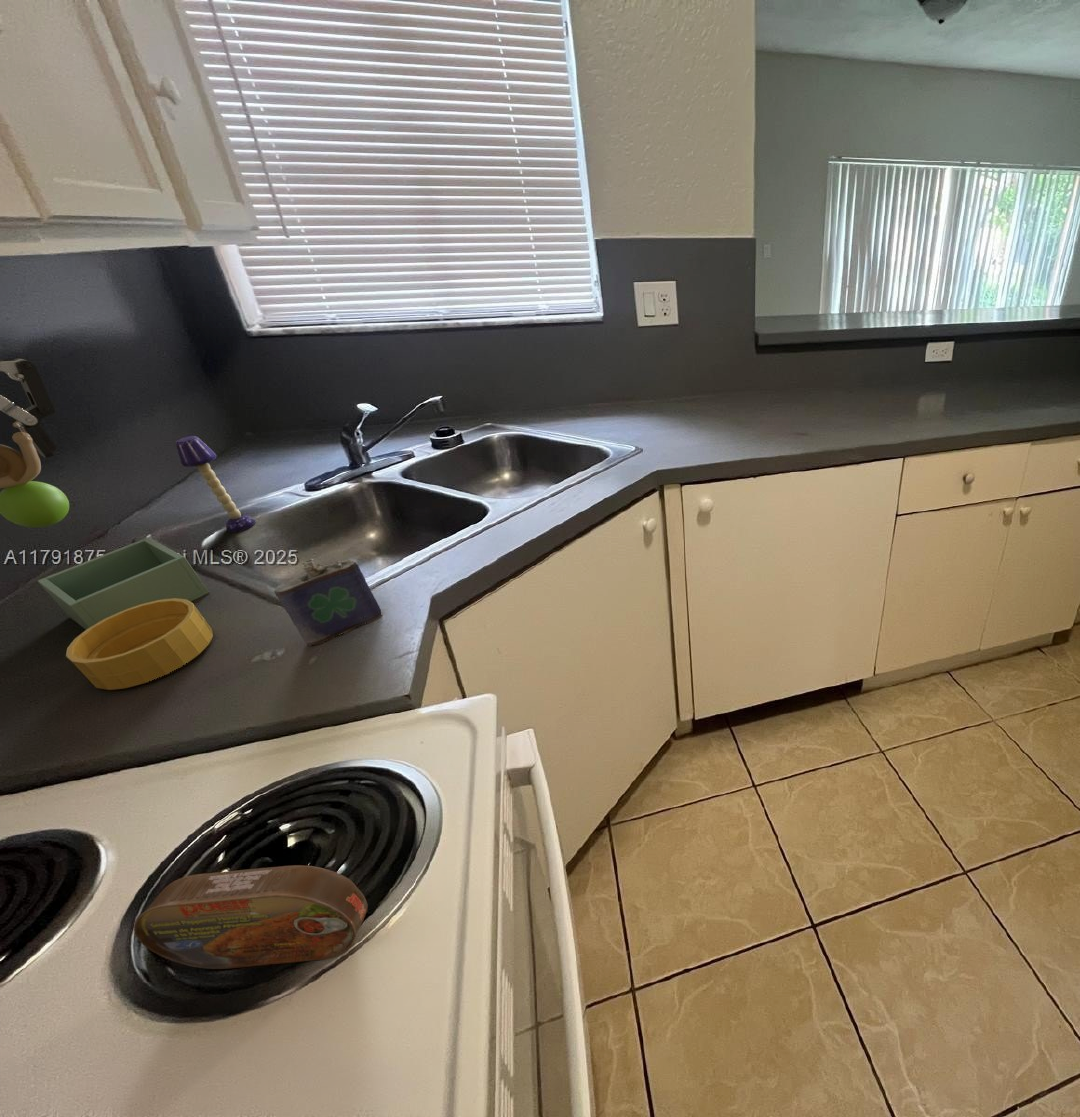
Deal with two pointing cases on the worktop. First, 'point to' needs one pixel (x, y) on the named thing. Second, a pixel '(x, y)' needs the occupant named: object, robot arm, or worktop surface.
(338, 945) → the tin
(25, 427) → the robot arm
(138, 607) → the bowl
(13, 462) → the snail figurine
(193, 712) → the worktop surface
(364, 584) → the clover box
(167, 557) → the bin
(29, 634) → the worktop surface
